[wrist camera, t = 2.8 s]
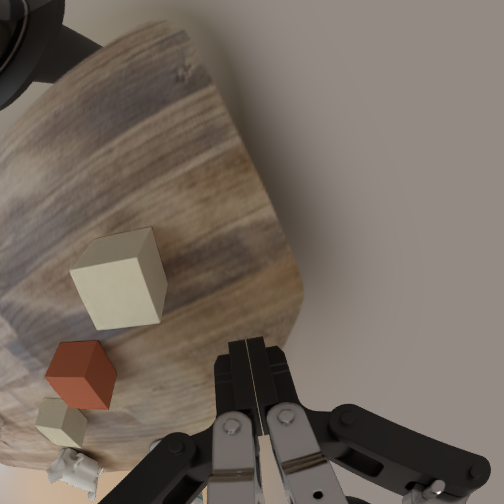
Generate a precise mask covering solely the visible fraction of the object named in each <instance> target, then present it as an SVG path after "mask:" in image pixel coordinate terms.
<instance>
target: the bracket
mask: <svg viewBox="0 0 504 504" xmlns="http://www.w3.org/2000/svg"><path fill="white" fill-rule="evenodd" d="M3 422H4V420H3V419H2V418H1V417H0V437H1V432H2V426H3Z"/></svg>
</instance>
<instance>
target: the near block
mask: <svg viewBox="0 0 504 504" xmlns="http://www.w3.org/2000/svg"><path fill="white" fill-rule="evenodd" d="M69 271H70V274H71V276H72V278H73V281H74V283H75V285H76V288H77V290H78V292H79V294H80V296H81V298H82V301H83V303H84V305H85V307H86V309H87V311H88V313H89V315H90V317H91V319H92V321H93V323H94V325H95V327H96V329H97V330H106V329H115V328H124V327H133V326H141V325H149V324H156V323H160V322H161V317H162V311H163V306H164V301H165V296H166V291H167V286H168V282H167V279H166V275H165V272H164V269H163V265H162V262H161V259H160V255H159V252H158V248H157V245H156V241H155V237H154V234H153V230H152V227H147V228H142V229H138V230H133V231H128V232H123V233H119V234H114V235H110V236H105V237H101V238H96V239H93V241H92V242H91V243H90V244H89V246H88V247H87V248H86V249H85V251H84V252H83V253H82V254H81V256H80V257H79V258H78V260H77V261H76V262H75V263H74V265H73V266H72V267H71V269H70V270H69Z"/></svg>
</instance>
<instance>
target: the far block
mask: <svg viewBox="0 0 504 504" xmlns="http://www.w3.org/2000/svg"><path fill="white" fill-rule="evenodd" d="M87 421H88V420H87V419H86V417H85V416H84V415H83V414H82V413H81V412H80V411H79V410H78V409H76V408H70V407H69V406H68V405H67V404H66V403H65V402H64V401H63V399H52V398H44V399H43V402H42V405H41V408H40V410H39V413H38V416H37V419H36V422H35V426H36V427H37V428H38V429H39V430H40V431H41V432H42V433H43V434H44V435H45V436H46V437H48V438H49V439H50V440H51V441H52V442H53V443H54V444H57V445H63V446H69V447H76V448H82V444H83V439H84V434H85V430H86V426H87Z"/></svg>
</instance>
